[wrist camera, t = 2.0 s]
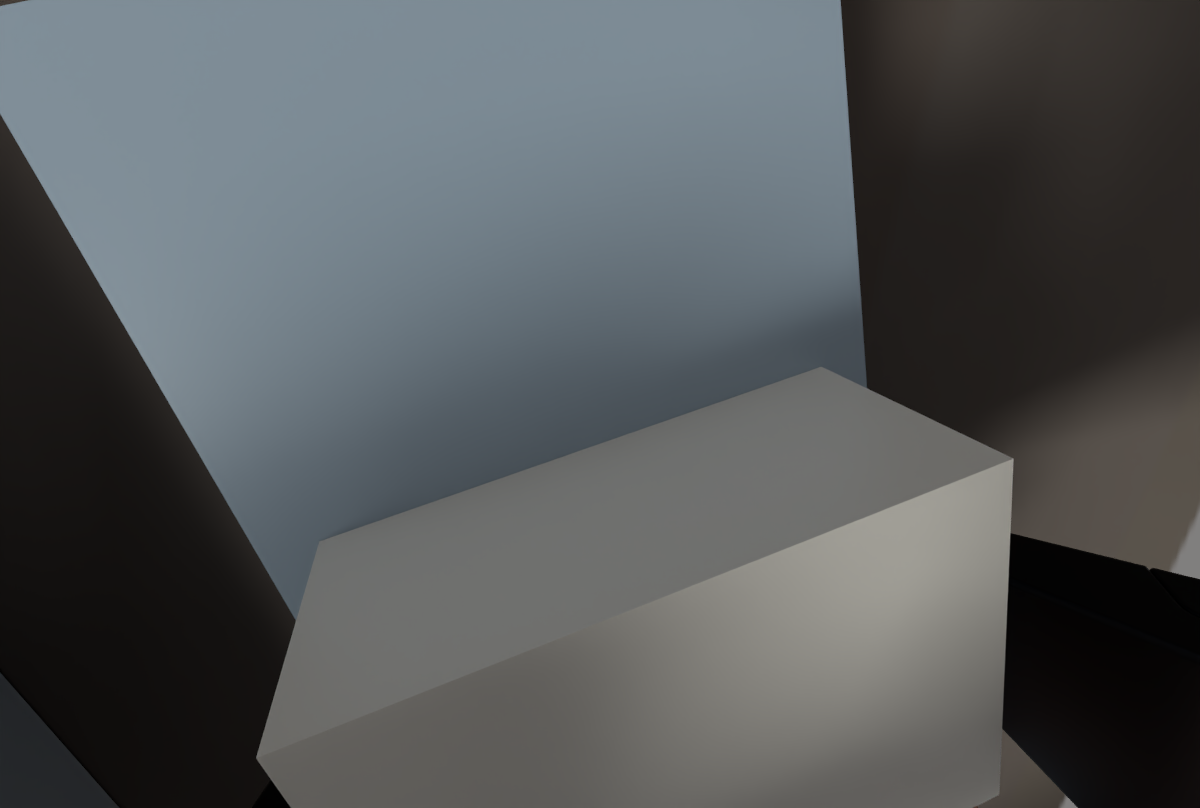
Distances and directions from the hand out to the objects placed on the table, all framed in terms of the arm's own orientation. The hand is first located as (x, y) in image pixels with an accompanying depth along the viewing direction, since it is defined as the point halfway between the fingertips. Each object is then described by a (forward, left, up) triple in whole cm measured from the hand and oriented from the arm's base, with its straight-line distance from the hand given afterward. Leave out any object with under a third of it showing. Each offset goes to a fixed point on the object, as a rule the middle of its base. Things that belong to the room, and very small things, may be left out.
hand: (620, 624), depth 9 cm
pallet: (0, 0, -2) cm, 2 cm away
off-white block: (+2, 0, +2) cm, 3 cm away
